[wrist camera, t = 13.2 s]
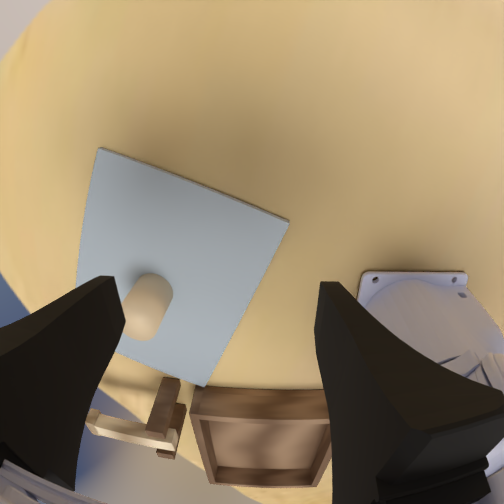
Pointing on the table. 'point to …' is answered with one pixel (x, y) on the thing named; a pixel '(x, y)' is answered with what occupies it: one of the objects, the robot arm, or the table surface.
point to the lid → (174, 261)
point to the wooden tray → (250, 433)
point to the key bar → (128, 431)
